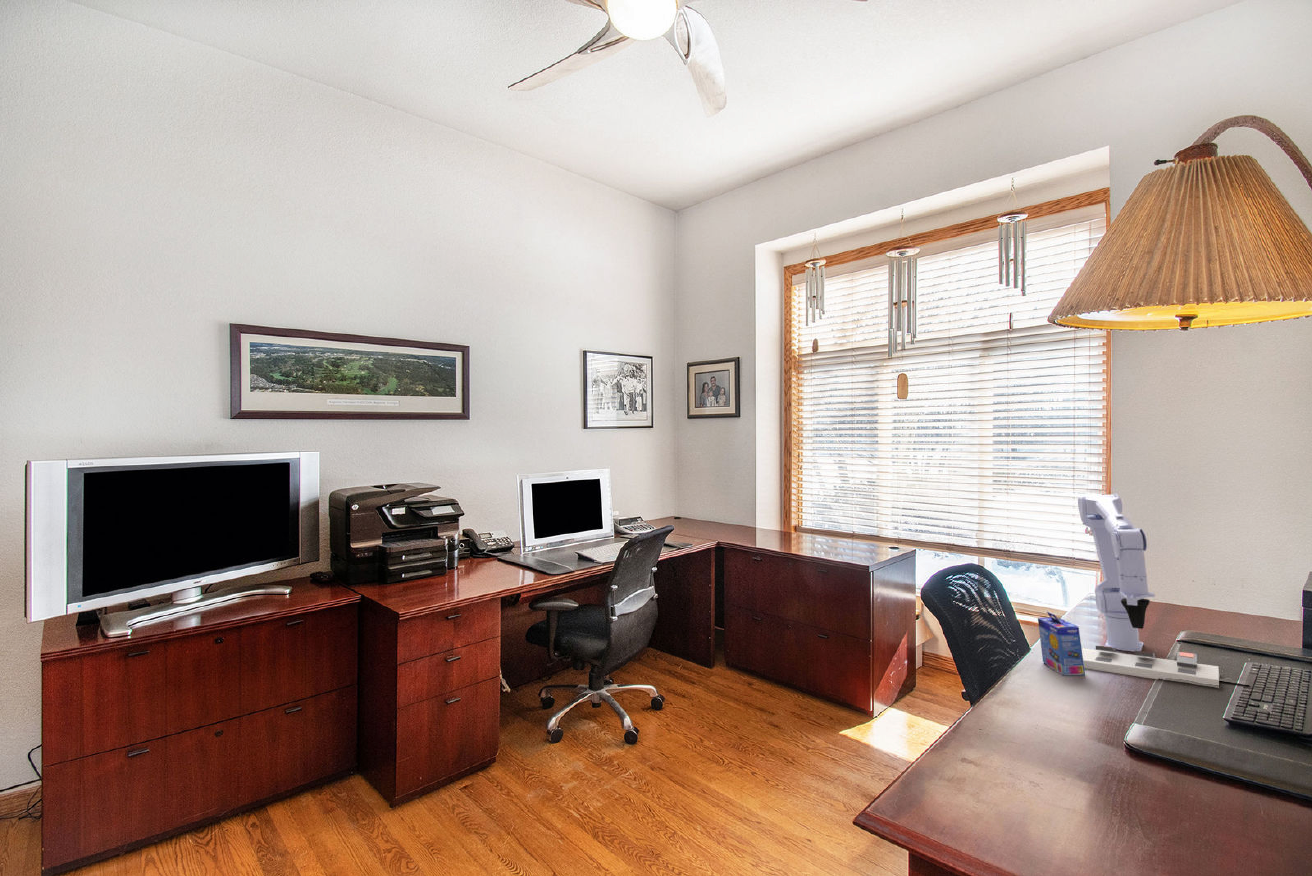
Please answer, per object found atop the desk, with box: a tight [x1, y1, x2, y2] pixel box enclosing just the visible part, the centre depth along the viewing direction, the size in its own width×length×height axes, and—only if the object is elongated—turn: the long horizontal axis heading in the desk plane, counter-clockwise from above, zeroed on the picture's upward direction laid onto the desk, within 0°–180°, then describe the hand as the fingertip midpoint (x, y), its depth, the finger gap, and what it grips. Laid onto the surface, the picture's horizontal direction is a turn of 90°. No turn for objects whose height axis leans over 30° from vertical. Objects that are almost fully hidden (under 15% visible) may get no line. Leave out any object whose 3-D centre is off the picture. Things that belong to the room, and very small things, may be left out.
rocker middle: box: [1134, 650, 1156, 658], centre depth 149 cm, size 5×4×1 cm
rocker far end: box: [1095, 645, 1117, 653], centre depth 154 cm, size 5×4×1 cm
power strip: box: [1082, 647, 1232, 685], centre depth 145 cm, size 11×32×2 cm, turn 46°
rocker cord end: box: [1176, 651, 1198, 668], centre depth 143 cm, size 5×4×1 cm
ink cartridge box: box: [1037, 611, 1086, 676], centre depth 152 cm, size 10×6×14 cm, turn 174°
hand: (1138, 627), depth 152 cm, fingers closed
